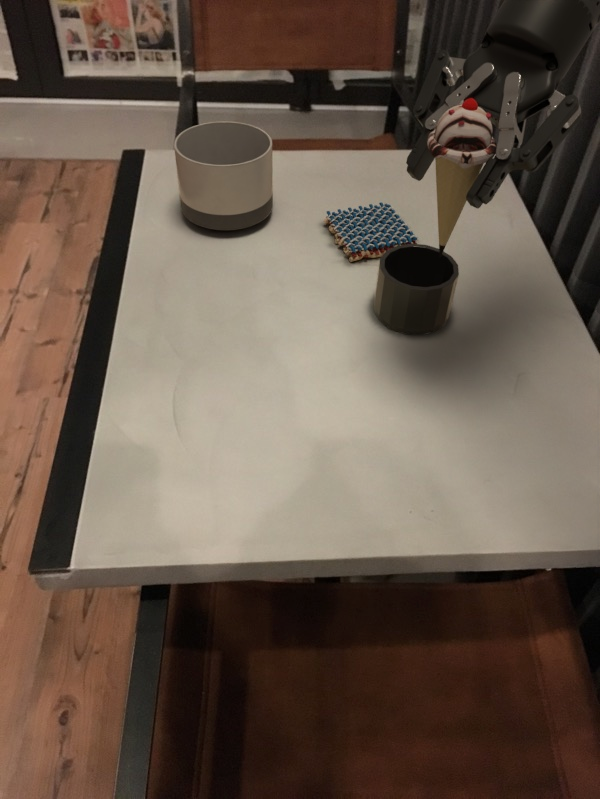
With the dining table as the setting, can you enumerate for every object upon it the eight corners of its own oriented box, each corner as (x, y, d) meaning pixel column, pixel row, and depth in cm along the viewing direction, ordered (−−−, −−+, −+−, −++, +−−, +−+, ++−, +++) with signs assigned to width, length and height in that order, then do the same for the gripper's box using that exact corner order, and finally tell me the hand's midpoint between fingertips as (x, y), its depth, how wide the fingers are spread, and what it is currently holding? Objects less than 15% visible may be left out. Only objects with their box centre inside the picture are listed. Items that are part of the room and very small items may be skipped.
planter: (183, 241, 92) (175, 168, 84) (180, 193, 101) (172, 123, 93) (278, 235, 93) (278, 163, 86) (267, 188, 102) (266, 119, 95)
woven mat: (349, 265, 89) (350, 252, 87) (321, 223, 96) (321, 210, 94) (421, 252, 91) (424, 239, 90) (389, 212, 98) (390, 199, 97)
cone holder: (458, 302, 84) (469, 258, 79) (432, 344, 78) (442, 299, 74) (391, 280, 87) (398, 236, 82) (361, 318, 81) (366, 273, 77)
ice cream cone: (429, 280, 62) (460, 118, 52) (398, 247, 66) (420, 89, 55) (481, 266, 64) (521, 106, 53) (448, 235, 68) (479, 79, 57)
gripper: (469, -45, 56) (360, 141, 59) (634, -2, 49) (503, 205, 52) (491, 12, 63) (392, 177, 65) (639, 56, 56) (522, 238, 58)
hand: (442, 189), depth 59 cm, fingers closed on ice cream cone, 5 cm apart
